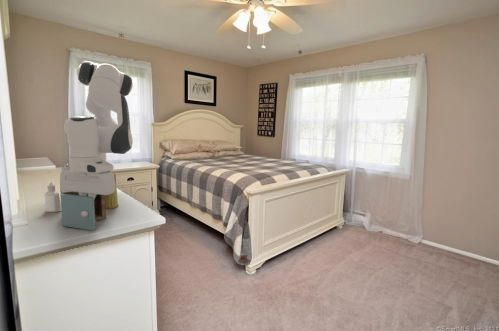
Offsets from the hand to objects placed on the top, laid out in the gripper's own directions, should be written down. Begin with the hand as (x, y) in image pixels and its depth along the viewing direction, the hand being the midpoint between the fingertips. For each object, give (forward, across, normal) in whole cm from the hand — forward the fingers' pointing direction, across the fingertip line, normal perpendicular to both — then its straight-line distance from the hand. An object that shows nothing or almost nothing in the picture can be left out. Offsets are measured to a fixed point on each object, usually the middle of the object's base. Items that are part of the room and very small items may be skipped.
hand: (88, 205), depth 90 cm
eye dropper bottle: (+8, -29, +10) cm, 32 cm away
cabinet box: (+8, -11, +8) cm, 16 cm away
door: (+8, -3, -2) cm, 9 cm away
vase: (+8, -13, +22) cm, 27 cm away
